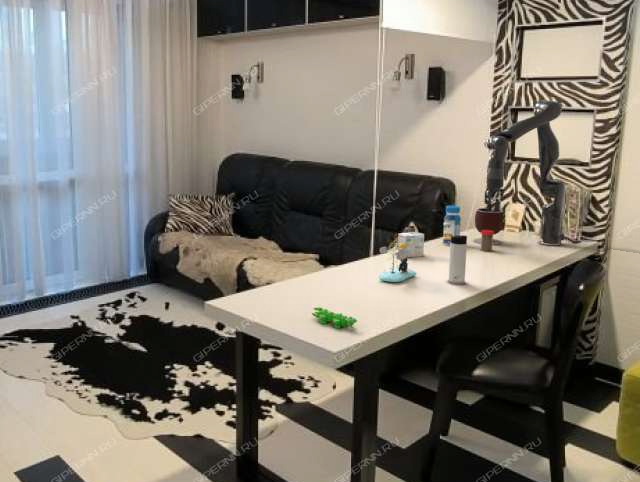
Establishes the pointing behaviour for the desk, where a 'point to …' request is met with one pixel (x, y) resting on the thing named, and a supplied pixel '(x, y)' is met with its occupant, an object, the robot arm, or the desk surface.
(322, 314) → the crocodile figurine
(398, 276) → the penguin figurine
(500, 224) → the mate gourd
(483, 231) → the lid
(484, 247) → the jar
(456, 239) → the travel mug
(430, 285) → the desk surface
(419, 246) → the light bulb box
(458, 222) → the blue labeled canister
